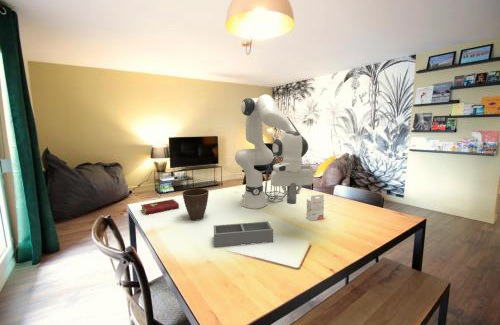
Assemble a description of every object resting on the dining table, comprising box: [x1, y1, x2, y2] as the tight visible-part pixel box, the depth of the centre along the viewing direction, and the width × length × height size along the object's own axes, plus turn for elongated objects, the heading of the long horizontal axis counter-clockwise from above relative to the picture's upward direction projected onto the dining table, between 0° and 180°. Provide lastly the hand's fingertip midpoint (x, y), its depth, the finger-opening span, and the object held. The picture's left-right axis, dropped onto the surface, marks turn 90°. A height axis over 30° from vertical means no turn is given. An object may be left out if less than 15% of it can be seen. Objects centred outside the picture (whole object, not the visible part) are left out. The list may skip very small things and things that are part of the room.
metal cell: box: [286, 183, 298, 205], centre depth 112 cm, size 4×4×11 cm
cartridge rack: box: [213, 220, 274, 248], centre depth 111 cm, size 10×27×6 cm, turn 100°
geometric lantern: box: [264, 153, 287, 203], centre depth 170 cm, size 16×16×35 cm
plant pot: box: [182, 188, 210, 221], centre depth 137 cm, size 15×15×16 cm
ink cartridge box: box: [306, 194, 325, 222], centre depth 135 cm, size 9×5×15 cm, turn 105°
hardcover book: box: [140, 198, 180, 216], centre depth 154 cm, size 12×21×4 cm, turn 126°
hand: (291, 194), depth 112 cm, fingers closed on metal cell, 4 cm apart
